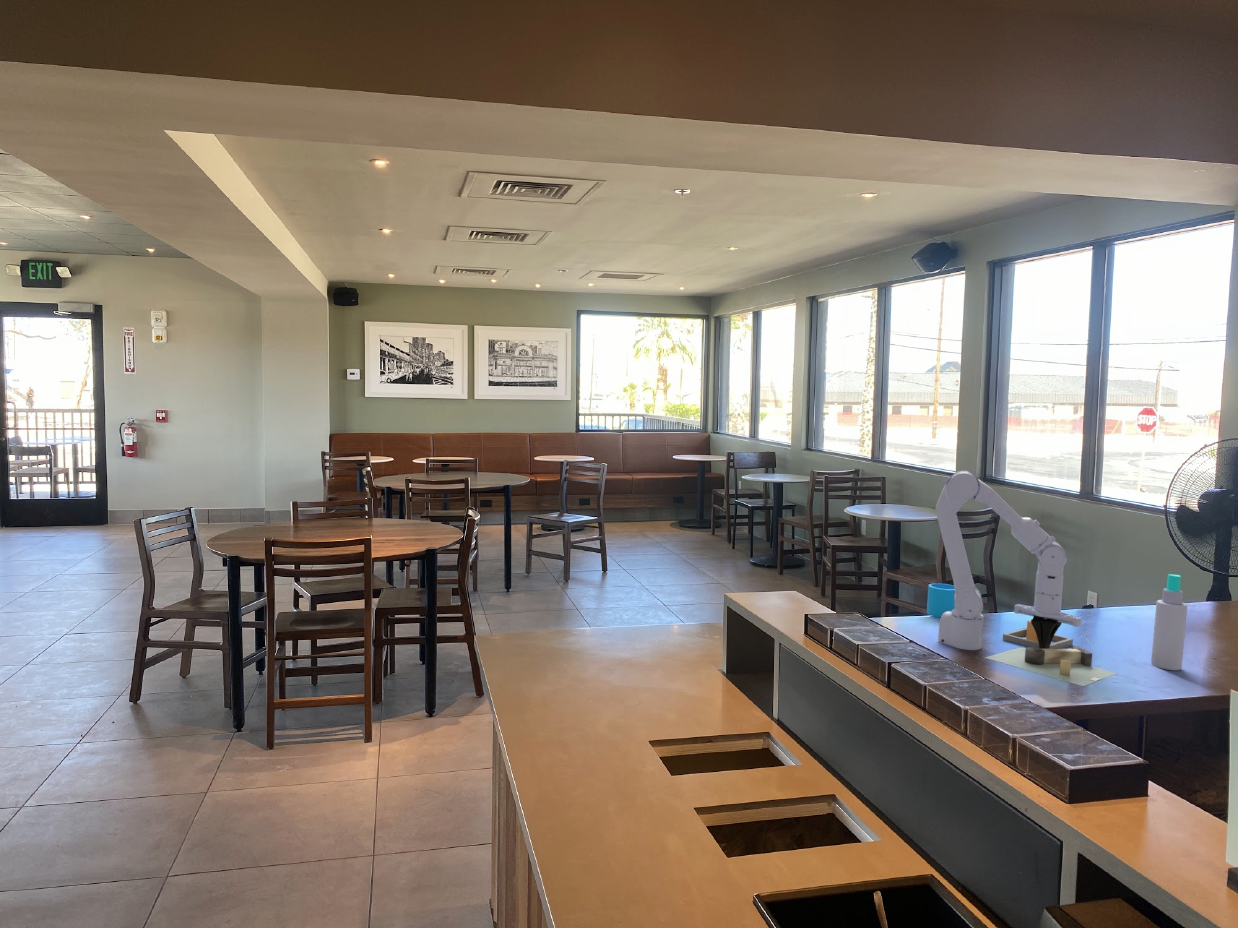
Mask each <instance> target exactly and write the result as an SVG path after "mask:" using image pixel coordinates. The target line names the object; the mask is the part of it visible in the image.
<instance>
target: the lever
mask: <svg viewBox="0 0 1238 928" xmlns="http://www.w3.org/2000/svg"><path fill="white" fill-rule="evenodd" d="M1062 659H1064V660H1069V661H1071V663H1081V664H1083V665H1088V666H1092V664H1093V663H1092V662H1093V653H1092V652H1090V651H1088V650H1086V649H1084V648H1081V647H1080V646H1071V648H1062V649H1039V648H1032V647H1025V662H1027V663H1030V664H1036V665H1042V664H1044V663H1061V660H1062Z"/></svg>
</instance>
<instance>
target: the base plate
mask: <svg viewBox="0 0 1238 928" xmlns="http://www.w3.org/2000/svg"><path fill="white" fill-rule="evenodd" d="M1025 649H1026V647H1021V646H1020V647H1017V648H1013V649H1009V650H1006V651H1002V652H999V653H996V654H992V655H989V656H985V657H984V659H987V660H990V661H995V662H997V663H1001V664H1005V665H1008V666H1012V667H1015V668H1019V669H1021V670H1025V671H1029V672H1032V673H1036V674H1039V675H1043V676H1046V677H1049V678H1052V679H1056V680H1060V681H1062V682H1066V683H1070V684H1073V685H1076V686H1080V687H1085V686H1087V685H1090V684H1093V683H1096V682H1099V681H1102V680H1104V679H1107V678H1109V677H1112V676H1114V675H1117V674H1118V672H1113V671H1109V670H1106V669H1102V668H1099V667H1095V666H1092V665H1083V664H1081V663H1071V661H1069V660H1064V659H1062V660H1061V663H1044V664H1042V665H1036V664H1030V663H1027V662H1025Z"/></svg>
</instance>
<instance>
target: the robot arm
mask: <svg viewBox="0 0 1238 928" xmlns="http://www.w3.org/2000/svg"><path fill="white" fill-rule="evenodd" d="M971 498H973V501H975V502H977V503H983V504H985V505H987V506H988V507H989V508H990V509H991V510H992V511H994V513H996V514H997V515H998V516H999V517H1001V518H1002V520H1004V521H1005V523H1007V524H1009V525H1010V526H1011V527H1010V530H1011V532H1010V534H1011V535H1012V536H1013V537H1014V538H1015V539H1016V541H1018V542H1019V543H1020V544H1021V545H1022V546H1023V547H1024V548H1025V549H1026V550H1027V551H1029V552H1030V553H1031V554H1033V555H1035V556H1036V559H1037V560H1038V561H1037V571H1036V573H1035V587H1034V599H1033V600H1034V602H1033V606H1032V605H1031V606H1030V605H1025V604H1019V603H1018V604H1015V605H1014V607H1013V609H1014V610H1013V613H1014V614H1018V615H1019V614H1021V615H1026V616H1030V617H1032V618H1031V620H1030V621H1031V624H1032V625H1033V627H1034V630H1035V632H1036V635H1037V638H1038V643H1039V649H1049V647H1050V644H1052V642H1053V641H1052V639H1053V637H1054V635H1056V633H1057V631H1058V630H1059V628H1060V627H1061V626H1062V624H1066V625H1070V626H1072V627H1076V628H1077V627H1081V626H1082V625H1081V624H1082V617H1080V616H1076V615H1073V614H1069V613H1066V612H1063V611H1062V602H1063V601H1062V600H1063V587H1064V578H1065V577H1064V570H1065V567H1064V566H1065V565H1066V564H1067V562H1068V559H1069V558H1068V557H1067V553H1066V550H1065V549H1064V548H1063V547H1062V546H1061V545H1060V543H1059V542H1058V541H1056V537H1054V536H1053V535H1051V536H1050V535H1049V533H1047V532H1046V530H1044V529H1043V528H1042V527H1041V526H1040V525H1041V523H1040V522H1039V521H1038V520H1037V519H1034V520H1033V519H1032V517H1022V516H1021V515H1020V514H1019V513H1018V512H1016V510H1015V509H1014V508H1012V507H1011V506H1010V505H1009V504H1008V502H1006V501H1005V500H1004V499H1003V498H1002V497H1001V496H1000V495H999V494H998V493H997V492H996V491H995V490H994V489H993V488H992V487H991V486H989V485H988V484H987V483H985V482H983V480H981V479H979V478H976V476H975V475H974V474H973V473H972V472H970V471H968V470H958V471H956V472H954V473H953V474H952V475H951V476H950V477H949V478H948V479H947V480H946V481H945V483H944V485H943V488H942V490H941V493H940V495H939V497H938V500H937V502H936V504H935V515H936V517H937V522H938V525H939V529H940V530H939V531H940V533H941V538H942V542H943V545H944V549H945V550H944V551H945V553H946V554H945V555H946V558H947V561H948V566H949V570H950V574H951V577H952V581H953V586H954V587H955V594H954V600H955V609H954V610H952V612H951V611H946V612H944V613H943V614H942V616H941V618H939V622H938V635H937V636H938V639H937V642H938V643H940V644H945V645H949V646H950V647H951V646H952V647H953V648H957V649H961V650H966V651H967V650H968V651H977V650H981V649H982V644H983V643H982V640H983V628H984V627H983V625H984V614H982V612H983V610H984V601H983V600H982V594H981V592H980V590H979V589H978V588H977V587H976V585H975V582H974V579H973V578H974V577H973V575H972V574H973V573H972V572H971V566H970V563H969V559H968V554H967V552H966V547H965V542H964V540H963V536H962V531H961V527H960V523H959V519H958V515H957V513H958V511H959V510H961V507H962V506H963V505H964V503H966V502H967V501H969V500H970V499H971Z"/></svg>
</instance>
